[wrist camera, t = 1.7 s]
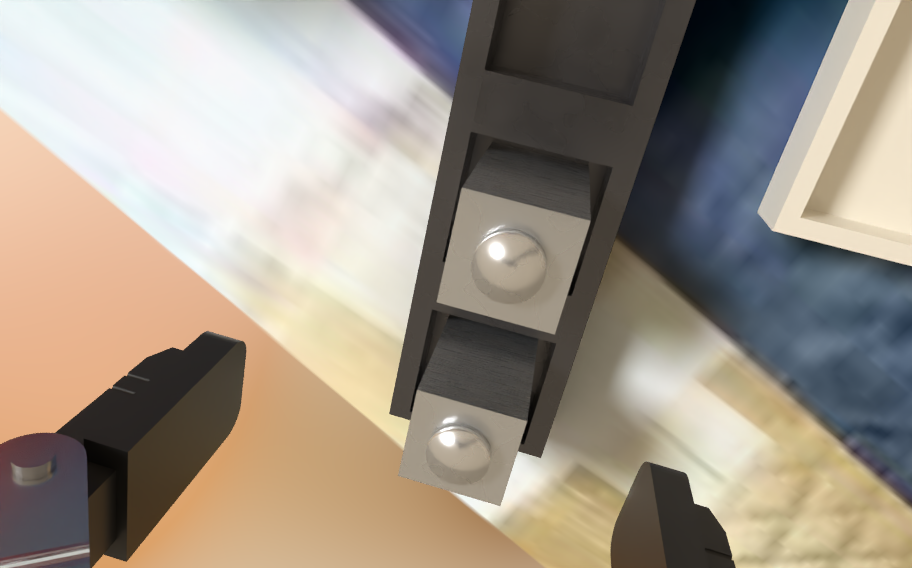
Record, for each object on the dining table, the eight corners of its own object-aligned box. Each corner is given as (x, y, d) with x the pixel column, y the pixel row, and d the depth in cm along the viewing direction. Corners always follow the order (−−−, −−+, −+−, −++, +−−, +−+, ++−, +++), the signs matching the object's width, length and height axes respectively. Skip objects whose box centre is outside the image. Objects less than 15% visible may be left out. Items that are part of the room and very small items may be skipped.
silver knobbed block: (589, 166, 29) (590, 226, 21) (561, 256, 31) (553, 342, 23) (492, 141, 29) (459, 192, 22) (470, 232, 31) (433, 309, 24)
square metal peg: (539, 328, 33) (525, 430, 25) (518, 400, 35) (498, 516, 27) (453, 305, 33) (413, 398, 25) (436, 377, 35) (394, 485, 27)
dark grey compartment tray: (706, -66, 25) (720, -74, 23) (544, 423, 35) (540, 457, 33) (507, -111, 26) (498, -124, 23) (403, 382, 36) (389, 414, 33)
